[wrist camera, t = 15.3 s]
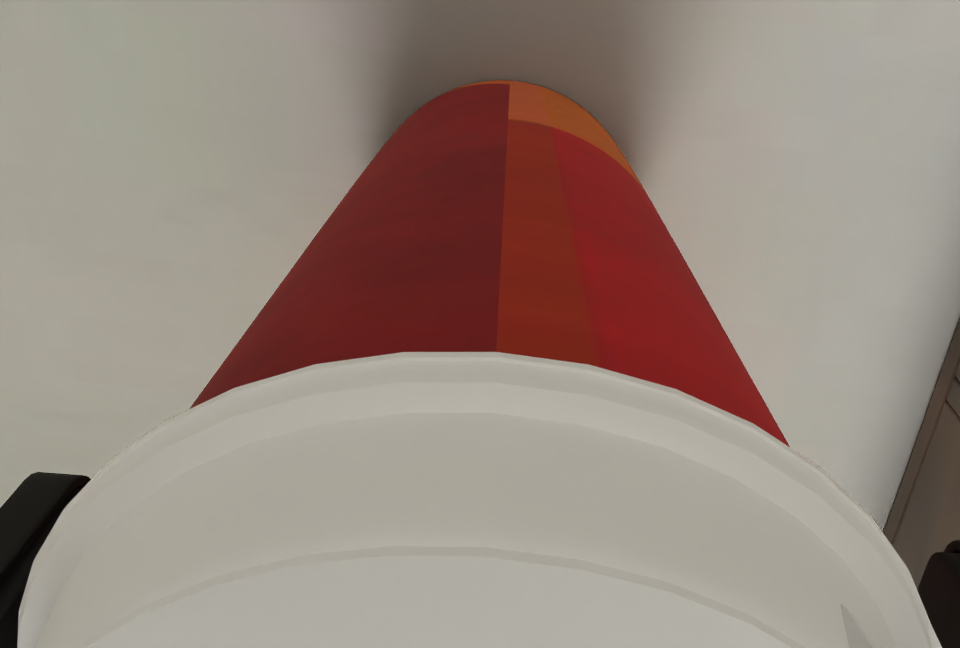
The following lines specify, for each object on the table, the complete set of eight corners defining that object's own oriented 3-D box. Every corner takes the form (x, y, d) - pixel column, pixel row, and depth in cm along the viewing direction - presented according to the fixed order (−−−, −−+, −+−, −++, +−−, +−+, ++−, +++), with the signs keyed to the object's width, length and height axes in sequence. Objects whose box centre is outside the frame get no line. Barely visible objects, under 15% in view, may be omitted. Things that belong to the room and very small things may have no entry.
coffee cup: (331, 347, 22) (39, 1089, 9) (318, 10, 18) (-256, 434, 5) (656, 369, 22) (864, 1155, 9) (717, 35, 18) (1282, 541, 5)
